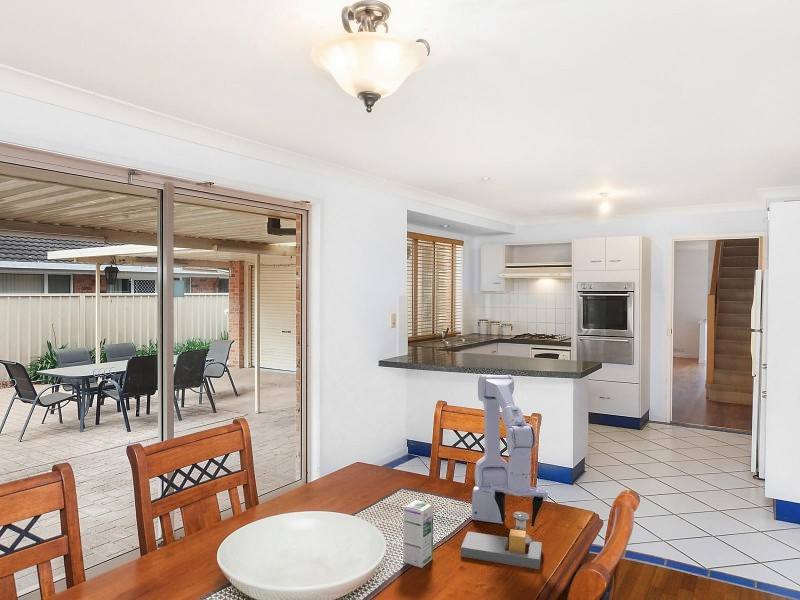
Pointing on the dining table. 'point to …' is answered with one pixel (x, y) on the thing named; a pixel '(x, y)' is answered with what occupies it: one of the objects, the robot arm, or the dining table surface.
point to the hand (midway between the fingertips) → (518, 522)
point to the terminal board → (499, 550)
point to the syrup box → (418, 533)
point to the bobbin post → (522, 523)
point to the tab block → (517, 541)
